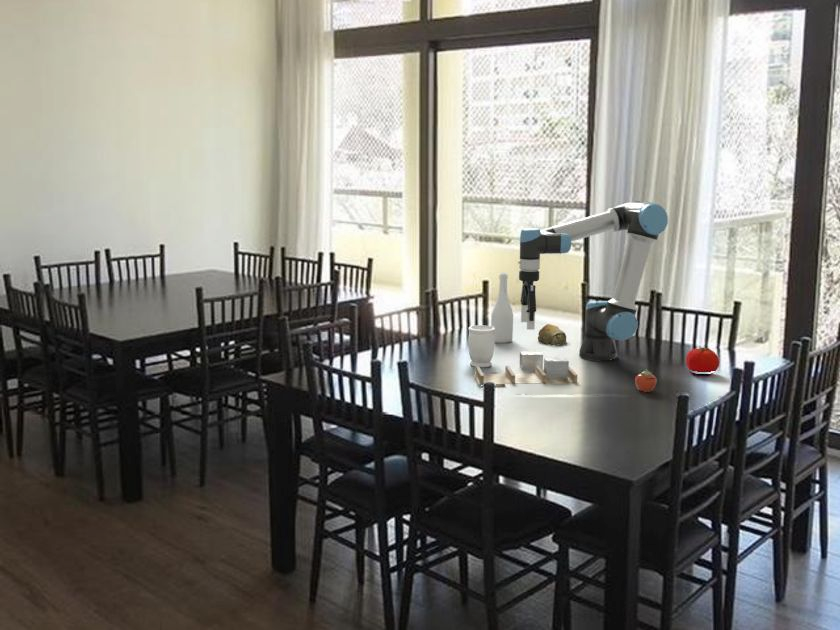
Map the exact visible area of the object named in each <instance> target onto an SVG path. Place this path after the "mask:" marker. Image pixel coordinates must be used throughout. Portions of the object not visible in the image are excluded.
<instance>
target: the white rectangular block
mask: <svg viewBox="0 0 840 630" xmlns="http://www.w3.org/2000/svg"><path fill="white" fill-rule="evenodd" d="M535 366H539V367H540V368H541V369H542V370H543V371H544V354H543V353H542V352H541V351H520V352H519V368H520V371H521V370H522V371H529V370H530V371H531V370H532V371H535Z"/></svg>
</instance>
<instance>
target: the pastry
mask: <svg viewBox="0 0 840 630" xmlns="http://www.w3.org/2000/svg"><path fill="white" fill-rule="evenodd" d="M537 341H538V342H540V343H541V342H542V344H545V345H550V346H553V345H555V346H557V345H558V346H559V345H564V344H566V343H567V335H566V332H564V331H563V330H561V329H560V328H559V326H557V325H553V324H551V323H550V324H549V323H548V324H546V325H544V326H543V327H542V328H541V329H539V331H538V336H537Z"/></svg>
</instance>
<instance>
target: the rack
mask: <svg viewBox="0 0 840 630" xmlns="http://www.w3.org/2000/svg"><path fill="white" fill-rule="evenodd" d="M474 368H475V373H473V378H474V380H475V382H476V384H477V386H478V387H479V386H481V385H483V384H484V383H485V382H489V381H490V382H494V383H495V384H496V387H506V385H533V384H534V385H536V384H539V385H544V384H546V385H549V384H557V385H558V384H559V385H560V384H561V385H563V384H567V385H568V384H579V382H578V374H577V373H576V372H575V371H574V369H572V368H571V367H570V366H569V368H568V380H546V374H545V373H544V369H543V370H542V369H541V368H540V367H539V366H535V370H534V373H526V372H525V373H515V372H513V370H512V369H511V367H510V366H509V365H505V372H504V373H483V372H482V369H481V367H479V366H476V367H474ZM496 387H495V388H496Z"/></svg>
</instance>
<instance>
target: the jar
mask: <svg viewBox="0 0 840 630" xmlns="http://www.w3.org/2000/svg"><path fill="white" fill-rule="evenodd" d="M468 331H469V333H468V338H467V346H468V347H467V348H468V354H469V355H468V356H469V359H470V360H471V362H470V366H472V367H474V368H476V366H479V367H480V368H489V367H491V366H492V362H491V361H492V359H493V356H494V351H495V346H496V342H495V337H494V331H495V328H494V327H492V326H491V325H484V324H483V325H481V324H480V325H479V324H478V325H477V324H476V325H471V326H469V327H468Z"/></svg>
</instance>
